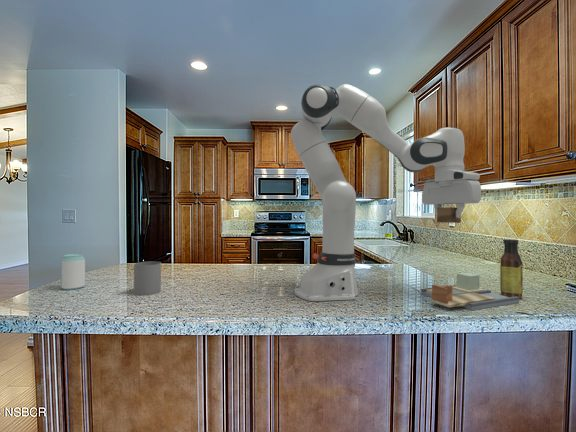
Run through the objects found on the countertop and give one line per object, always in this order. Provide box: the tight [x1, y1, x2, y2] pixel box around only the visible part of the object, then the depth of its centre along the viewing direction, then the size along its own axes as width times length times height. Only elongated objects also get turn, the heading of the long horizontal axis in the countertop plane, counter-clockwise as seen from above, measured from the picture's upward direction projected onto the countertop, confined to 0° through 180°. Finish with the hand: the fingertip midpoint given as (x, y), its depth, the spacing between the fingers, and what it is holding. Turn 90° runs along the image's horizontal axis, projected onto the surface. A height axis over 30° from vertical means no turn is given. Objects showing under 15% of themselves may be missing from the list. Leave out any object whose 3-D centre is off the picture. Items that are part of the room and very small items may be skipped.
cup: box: [133, 260, 162, 297], centre depth 104 cm, size 8×8×10 cm
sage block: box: [456, 272, 480, 291], centre depth 108 cm, size 5×5×5 cm
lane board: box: [420, 284, 520, 311], centre depth 101 cm, size 22×19×2 cm
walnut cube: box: [436, 206, 462, 224], centre depth 102 cm, size 5×5×5 cm
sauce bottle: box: [499, 238, 524, 299], centre depth 104 cm, size 7×6×20 cm
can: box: [60, 253, 86, 291], centre depth 108 cm, size 7×7×12 cm
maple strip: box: [429, 284, 495, 308], centre depth 94 cm, size 20×7×5 cm, turn 112°
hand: (448, 217), depth 102 cm, fingers closed on walnut cube, 5 cm apart
